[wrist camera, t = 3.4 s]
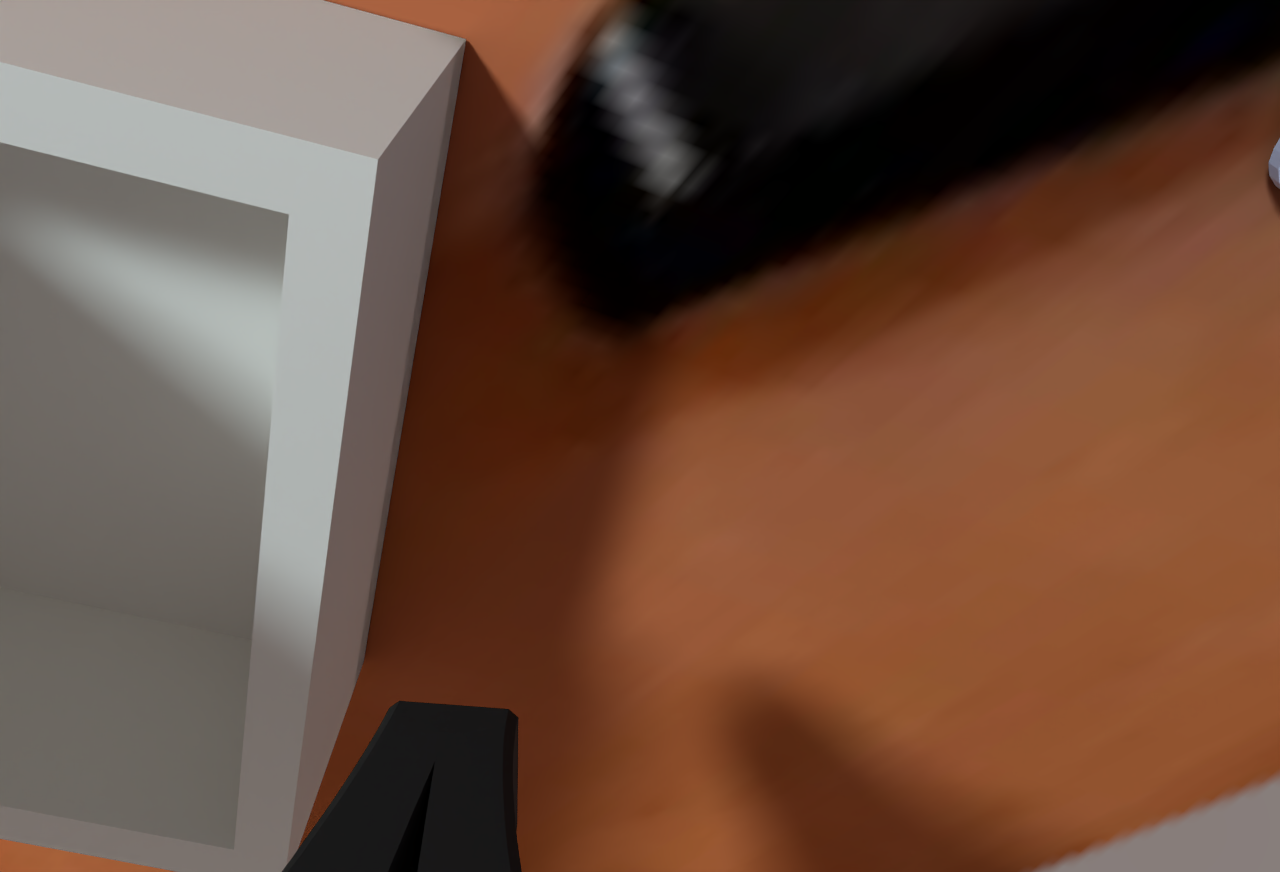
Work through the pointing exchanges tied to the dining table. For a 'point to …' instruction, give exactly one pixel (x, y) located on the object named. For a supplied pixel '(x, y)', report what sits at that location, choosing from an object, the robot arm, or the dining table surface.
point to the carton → (200, 404)
